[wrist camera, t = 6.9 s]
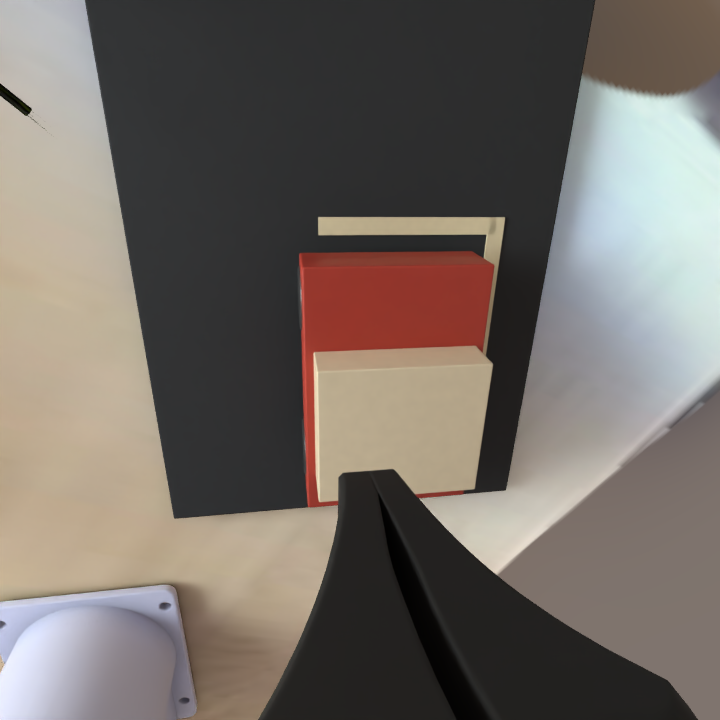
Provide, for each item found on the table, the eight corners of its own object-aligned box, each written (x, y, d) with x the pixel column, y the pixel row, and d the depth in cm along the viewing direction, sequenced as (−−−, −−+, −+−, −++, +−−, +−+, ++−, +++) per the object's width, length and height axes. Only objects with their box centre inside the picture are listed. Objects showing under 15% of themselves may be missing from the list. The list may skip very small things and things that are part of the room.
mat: (502, 483, 24) (506, 491, 23) (175, 511, 21) (173, 520, 21) (593, -34, 15) (604, -39, 15) (76, -76, 13) (69, -85, 13)
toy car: (303, 461, 21) (442, 451, 22) (308, 538, 17) (479, 522, 18) (296, 246, 17) (465, 245, 18) (301, 280, 13) (518, 277, 14)
